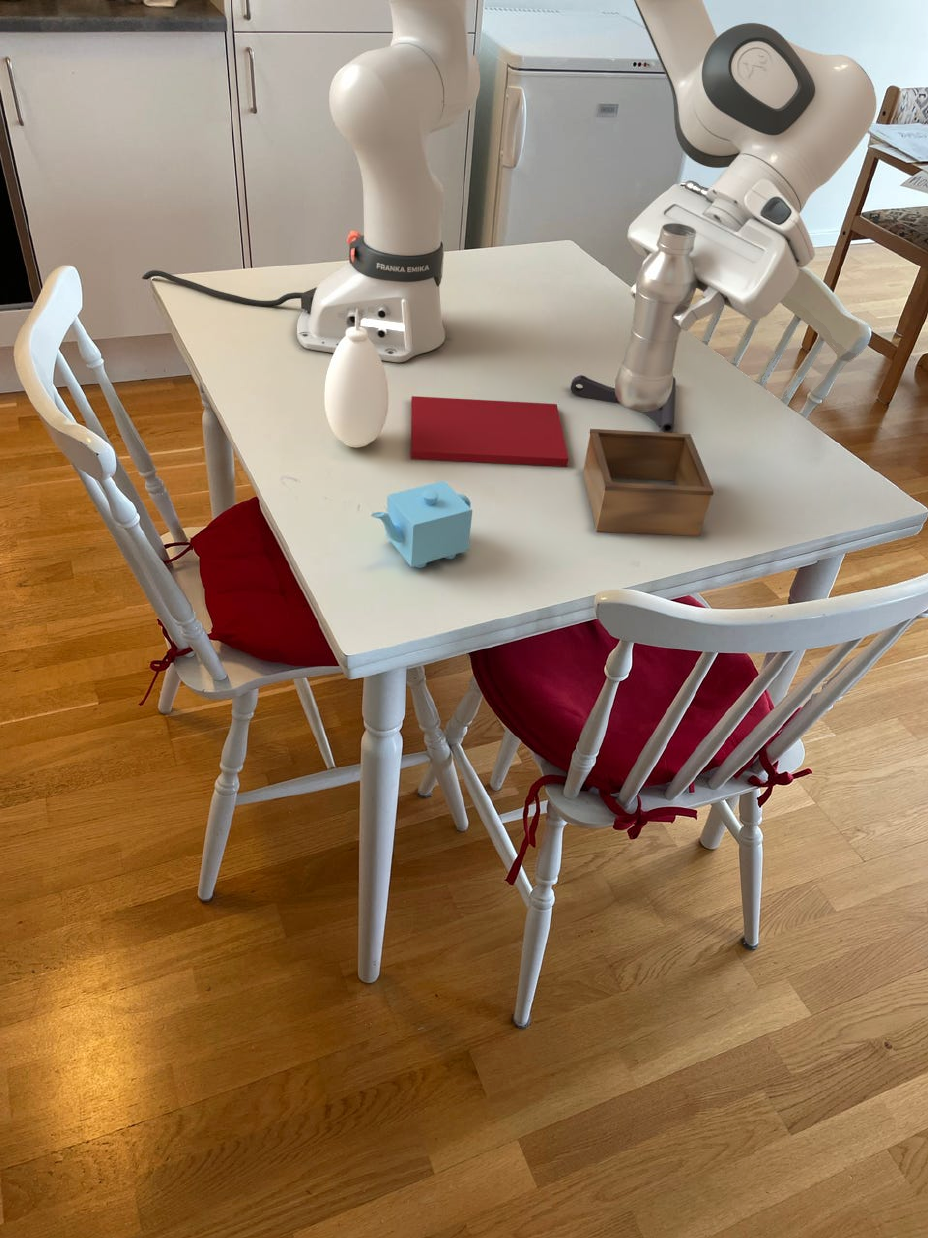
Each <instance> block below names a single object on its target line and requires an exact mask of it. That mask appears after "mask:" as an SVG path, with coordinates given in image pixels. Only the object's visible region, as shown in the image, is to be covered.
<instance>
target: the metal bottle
mask: <svg viewBox="0 0 928 1238" xmlns="http://www.w3.org/2000/svg"><path fill="white" fill-rule="evenodd" d="M695 237H696V230H695V229H694V228H692V227H690V226H688V225H684V224H679V223H668V224H664V225H663V226H662V228H661V232H660V236H659V239H658V241H657V247H658V251H656V252H655V253H654V254H653V255H652V256H651V257H650V258H649V259H648V260H647V261H646V262H645V264H644V265H643V264H642V265H643V266H642V265H641V267H640V269H639V270H638V273H637V275H636V281H635V283H636V293H635V299H634V309H633V315H632V316H633V317H632V321H631V322H632V325H631V330H630V334H629V335H630V336H629V338H628V343H627V346H626V350H625V353H624V356H623V360H622V361H621V363H620V365H619V367H618V370H617V373H616V376H615V380H614V388H615V394H616V396H617V399H618V401H619V402H620V403H619V404H620V405H622V406H623V407H624V408H627V409H629V410H632V411H636V412H640V413H641V412H642V413H645V412H650V411H655V410H657V409H658V410H659V408H660V407H662V406H663V405H664V404H665V403H666V402H667V400H668V397H669V395H670V393H671V391H672V384H673V376H674V367H675V366H674V365H675V361H676V360H675V359H676V354H677V353H676V352H677V348H678V347H677V346H678V342H679V339H680V334H681V331H682V329H681V328H680V327H678V326H677V325H675V322H674V321H673V320H672V317H673V315H674V314H675V313H676V312H678V310H679V309H680V308H681V307H682V306H683V305H684V306H686V307H689V306H691V305H692V304H691V303H692V302H693V299H694V296H695V293H696V290H697V278H696V275H695V268H694V265H693V263H692V260H691V258H690V256H689V255H690V253H691V252H692V251H693V249H694V241H695Z"/></svg>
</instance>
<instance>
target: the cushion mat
mask: <svg viewBox="0 0 928 1238" xmlns="http://www.w3.org/2000/svg"><path fill="white" fill-rule="evenodd" d="M410 405H411V407H410V460H422V461H423V460H425V461H445V462H463V463H465V462H466V463H483V464H484V463H485V464H487V463H488V464H504V465H526V466H527V465H528V466H529V465H530V466H547V467H568V465H569V453H568V449H567V445H566V441H565V440H566V439H565V435H564V431H563V427H562V423H561V417H560V413H559V408H558V404H557V403H546V402H544V403H543V402H529V401H528V402H527V401H510V400H509V401H506V400H490V399H489V400H488V399H473V398H472V399H470V398H456V397H455V398H454V397H436V396H434V397H433V396H418V395H417V396H415V395H411V400H410Z"/></svg>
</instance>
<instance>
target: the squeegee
mask: <svg viewBox="0 0 928 1238" xmlns="http://www.w3.org/2000/svg"><path fill="white" fill-rule="evenodd" d="M578 385H580V386H581V387H578ZM676 386H677V385H676V377H675V376H674V375H673V384H672V391H671V393H670V395H669V397H668V400H667V402H666V403H665V404H664V405H663V406H662V407H660V408H659V409H657V410H655V411H650V412H644V413H645V414H646V415H648V417H649V418H651V419H652V421H653V422H654V423H655V424H656V425H657V426H658V428H661V432H662V433H674V430H675V410H676ZM570 391H571V393H572V395H574V396H576V397H580V398H587V399H592V400H597V401H605V402H611V403H617V404H621V403H620V402H619V401H618V399H617V396H616V394H615V387H613V386H608V385H606V384H603V383H602V382H601V383H600V382H598V381H596V380H593V379H590V378H589V377H587V376H585V375H582V374H580V375H577V376H576V377H574V378H573V379H572V381H571V383H570Z"/></svg>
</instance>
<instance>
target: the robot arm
mask: <svg viewBox="0 0 928 1238" xmlns="http://www.w3.org/2000/svg"><path fill="white" fill-rule="evenodd" d="M633 2H634V4H635V6H636V9H637V11H638V13H639V16H640V18H641V21H642V23H643V25H644V27H645V30H646V32H647V34H648V36H649V39H650V42H651V44H652V47H653V48H654V51H655V53H656V55H657V58H658V60H659V62H660V66H661V67H662V69H663V72H664V74H665V77H666V80H667V82H668V85H669V88H670V90H671V95H672V101H673V102H672V103H673V121H674V130H675V135H676V139H677V141H678V143H679V146H680V148H681V150H682V151H683V153H685V154H686V155H687V156H688V158H690V159H691V160H692V161H693V162H696V164H698V165H701V166H704V167H708V168H711V169H722V168H723V169H724V168H726V169H725V170H724V171H723V172H722V173H721V174H720V175H719V177H718V178H717V179H716V180H715V181H714V182H713V183H712V185H711V186H710V187H709V188H708V187H706V186H702V185H700V184H699V183H698V182H696V181H694V180H687V181H685V182H679V183H674V184H672V185H671V186H670V187H669V188H668V189H667V190H666V191H664V192H663V193H662V194H660V195H659V196H658V197H657V198H655V199H654V201H652V202H651V203H650V204H649V205H648V206H647V207H646V208H645V209H644V210H643V211H642V212H641V213H639V215H638V216H637V217H636V218H635V219H634V220H633V221H632V222H631V223H630V225H629V226H628V230H627V240H628V241H629V243H630V245H631V246H632V247H633V249H634V250H635V252H636V253H637V254H638V255H640V256H641V257H643V258H645V259H644V260H643V261H642V265H641V267H642V266H643V265H644V264H645V262H646V261H647V260H648V259H649V258H650V257H651V256H652V255H653V254H654V253H655V252H656V251H658V247H657V241H658V239H659V236H660V232H661V228H662V226H663V225H664V224H668V223H679V224H684V225H688V226H690V227H692V228H694V229H695V230H696V237H695V241H694V249H693V251H692V252H691V253H690V255H689V256H690V258H691V260H692V263H693V265H694V268H695V275H696V278H697V288H696V290H697V289H698V290H699V291H701V292H702V293H701V296H702V298H701V299H700V300H698V301H696V302H694V303H693V304H690V306H689V307H686V306H684V305H683V306H682V307H681V308H680V309H679V310H678V312H676V313H675V314H674V315H673V317H672V320H673V321H674V322H675V325H677V326H678V327H680V328H681V330H683V331H684V332H688V331H689V330H690V329H691V328H692V327H693V325H694V324H695V323H696V322H697V321H699V320H702V319H704V318H707V317H708V316H711V315H713V314H715V313H718V311H719V310H720V309H721V308H722V306H724V305H725V306H726V307H728V308H729V309H732V310H734V311H735V312H737V313H738V314H740V315H742V316H743V317H744V318H747V319H749V320H750V321H752V322H753V321H758V320H760V319H763V318H766V317H767V316H768V315H770V314H771V312H773V311H774V309H775V308H776V307H777V306H778V305H779V304H780V302H782V300H783V299H784V298H785V296H786V295H787V294H788V293H789V291H790V290H791V289H792V287H793V286H794V285H795V283H796V281H797V280H798V277H799V273H800V269H799V268H805V267H806V266H808V265H809V264H810V263H811V262H812V261H813V259H815V255H816V252H815V249H814V245H813V241H812V239H811V236H810V233H809V231H808V229H807V227H806V224H805V223H804V221H803V219H802V217H801V215H800V213H801V212H802V211H803V210H804V208H805V206H806V204H807V202H808V200H809V198H810V197H811V196H812V194H813V193H814V192H815V191H816V190H818V189H819V188H821V187H823V186H824V185H825V184H826V183H828V182H829V181H830V180H831V179H832V178H833V176H834V175H835V174H836V173H837V172H838V171H839V169H840V168H841V167H842V166H843V165H844V164H845V162H846V161H847V160H848V159H849V158H850V156H852V154H853V153H854V151H855V150H856V149H857V148H858V146H859V145H860V144H861V142H862V141H863V139H864V137H866V135H867V133H868V131H869V129H870V127H872V124H873V122H874V119H875V117H876V113H877V96H876V91H875V87H874V85H873V82H872V80H871V79H870V76H869V74H868V73H867V71H865V69H864V68H863V67H862V66H861V65H860V64H859V63H858V62H857V61H856V60H855V59H854V58H852V57H849V56H847V55H844V54H822V53H819V52H814V51H810V50H808V49H805V48H803V47H801V46H799V45H797V44H794V43H793V42H791V41H789V40H787V39H786V38H785V37H784V36H783V35H782V34H781V33H780V32H779V31H777V30H776V29H775V28H773V27H771V26H768V25H766V24H763V23H757V22H748V23H747V22H746V23H740V24H738V25H734V26H732V27H730V28H728V29H727V30H725V31H723V32H722V33H721V34H720V35H719V36H718V35H717V33H716V30H715V28H714V26H713V24H712V20H711V18H710V16H709V14H708V11H707V8H706V6H705V4H704V2H703V0H633ZM388 4H389V7H390V8H389V9H390V13H391V14H390V15H391V20H392V21H391V22H392V39H391V41H390V45H388V46H385V47H380V48H376V49H372V50H368V51H365V52H363V53H361V54H359V55H358V56H356V57H354V58H353V59H352V60H350V61H349V62H348V63H346V64H345V65H344V66H342V67H341V68H340V69H339V70H338V71H337V72H336V73H335V75H334V77H333V78H332V81H331V83H330V87H329V94H328V105H329V111H330V115H331V118H332V121H333V124H334V126H335V129H337V131H338V132H339V134H340V135H341V136H342V138H343V139H344V140H345V141H346V142H348V143H349V144H350V146H351V147H352V149H353V152H354V154H355V157H356V159H357V162H358V167H359V170H360V176H361V182H362V191H363V192H362V193H363V234H360V233H361V232H359V231H358V230H350V231H349V233H348V235H347V241H346V243H347V245H348V247H349V249H348V251H349V252H348V261H349V262H347V263H346V264H344V265H343V266H341V267H340V268H338V269H337V270H335V271H334V272H332V273H330V274H329V275H327V276H326V277H324V278H323V279H322V280H321V281H320V282H319V283H318V285H317V286H316V287H314V288H311V289H308V290H306V291H304V292H289V293H286V294H284V295H282V296H280V297H279V298H277V299H273V300H257V299H252V298H247V297H242V296H239V295H235V294H232V293H228V292H223V291H220V290H216V289H214V288H211V287H207V286H204V285H202V284H199V283H197V282H194V281H192V280H188V279H185V278H181V277H178V276H176V275H173V274H171V273H168V272H165V271H163V270H158V269H152V270H149V271H147V272H146V273H144V274H143V276H141V279H142V280H149V279H151V278H152V277H160V278H163V279H166V280H168V281H171V282H173V283H176V284H179V285H182V286H185V287H189V288H192V289H195V290H197V291H199V292H203V293H204V294H206V295H207V294H208V295H210V296H214V297H217V298H221V299H226V300H229V301H233V302H237V303H240V304H244V305H248V306H254V307H263V308H265V307H267V308H271V307H278V306H280V305H282V304H284V303H286V302H287V301H290V300H295V299H300V309H302V310H303V311H302V312H301V313H300V315H299V317H298V319H297V322H296V339H297V340H298V342H299V344H300V345H301V346H302V347H304V348H305V349H306V350H311V351H318V352H325V353H332V354H334V352H335V350H336V348H337V346H338V345H339V343H340V342H341V341H342V339H343V338H344V337H345V336H346V330H347V329H348V328H350V327H355V313H356V309H358V315H359V327H362V328H364V329H366V330H367V332H368V338H369V339H370V340H371V342H372V343H373V345H374V346H375V348H376V350H377V352H378V354H379V356H380V359H381V361H386V362H392V363H405V362H406V361H408V360H410V359H412V358H413V357H415V356H417V355H421V354H425V353H429V352H431V351H433V350H436V349H437V348H439V347H440V346H441V345H442V344H443V343H444V342H445V341H446V331H445V327H444V323H443V316H442V309H441V297H440V296H441V294H440V285H441V284H442V279H443V271H444V258H445V257H444V255H445V252H444V244H443V242H442V228H443V227H442V226H443V214H444V196H445V193H444V187H443V184H442V182H441V180H440V179H439V178H438V177H437V176H436V174H434V173H433V171H432V168H431V164H430V160H429V153H428V140H429V136H430V134H433V133H435V132H437V131H441V130H443V129H447V128H449V127H450V126H452V125H454V124H455V123H457V121H459V120H460V119H461V118H463V117H464V116H465V115H466V113H468V112H469V111H470V110H471V109H472V107H473V106H474V105H475V104H476V101H477V99H478V97H479V93H480V88H481V74H480V69H479V65H478V62H477V59H476V58H475V57H476V56H474V53H472V51H471V48H470V43H469V32H468V13H467V12H468V11H467V10H468V8H467V7H468V0H388ZM635 293H636V282H635V283H634V284H633V285H632V286H631V288H630V289H629V294H630V295H631V297H632V298H633V299H634V300H635Z"/></svg>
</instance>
